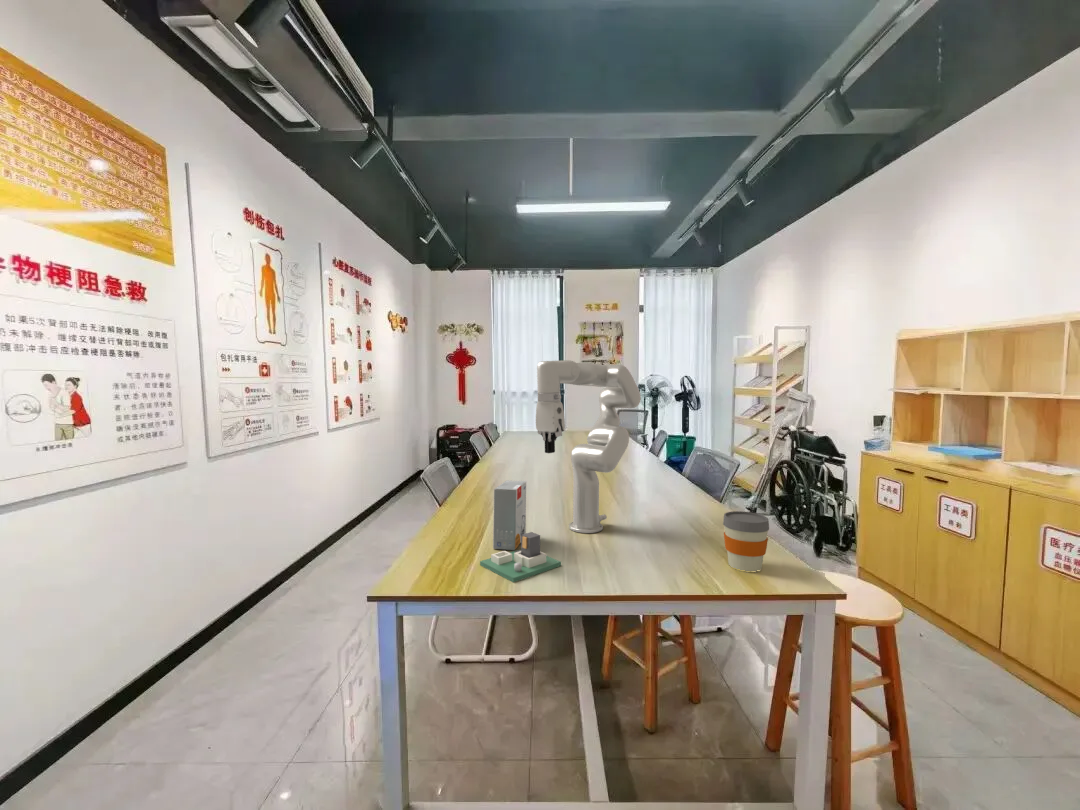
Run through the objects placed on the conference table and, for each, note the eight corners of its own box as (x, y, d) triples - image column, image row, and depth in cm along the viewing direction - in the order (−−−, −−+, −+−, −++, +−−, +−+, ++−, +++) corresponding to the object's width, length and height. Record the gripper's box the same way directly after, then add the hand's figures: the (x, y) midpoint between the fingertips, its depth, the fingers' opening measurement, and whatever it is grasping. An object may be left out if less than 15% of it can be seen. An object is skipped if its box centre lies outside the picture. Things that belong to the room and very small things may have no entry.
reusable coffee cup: (724, 572, 135) (725, 521, 135) (720, 557, 147) (721, 509, 147) (772, 577, 132) (773, 524, 131) (763, 561, 144) (764, 512, 143)
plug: (531, 557, 143) (531, 531, 142) (540, 561, 140) (540, 535, 139) (519, 561, 140) (519, 535, 139) (528, 565, 137) (528, 538, 136)
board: (526, 551, 152) (526, 541, 152) (561, 565, 140) (561, 555, 140) (480, 565, 140) (480, 554, 140) (513, 582, 128) (513, 570, 128)
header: (531, 555, 144) (531, 547, 144) (546, 562, 139) (546, 553, 139) (512, 561, 140) (512, 553, 139) (527, 568, 134) (527, 560, 134)
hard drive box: (515, 551, 152) (515, 490, 151) (492, 549, 153) (492, 488, 152) (526, 536, 167) (526, 480, 166) (505, 534, 168) (505, 479, 167)
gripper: (573, 398, 154) (573, 453, 155) (542, 396, 165) (543, 448, 166) (556, 399, 149) (557, 456, 150) (525, 398, 160) (526, 451, 161)
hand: (549, 452), depth 158 cm, fingers closed
